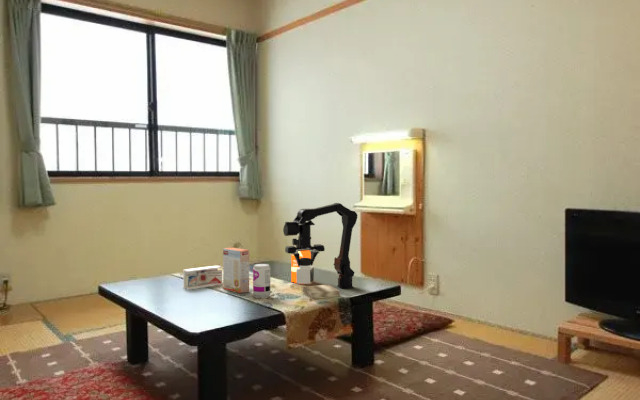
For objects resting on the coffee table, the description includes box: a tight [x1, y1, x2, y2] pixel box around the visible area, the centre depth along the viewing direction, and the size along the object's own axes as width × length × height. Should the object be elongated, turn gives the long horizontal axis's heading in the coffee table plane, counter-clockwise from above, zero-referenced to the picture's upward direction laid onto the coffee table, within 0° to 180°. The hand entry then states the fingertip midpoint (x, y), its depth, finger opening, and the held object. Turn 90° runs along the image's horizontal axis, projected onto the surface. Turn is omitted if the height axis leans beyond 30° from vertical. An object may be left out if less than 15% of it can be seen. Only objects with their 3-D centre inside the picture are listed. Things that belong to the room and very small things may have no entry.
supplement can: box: [252, 263, 271, 299], centre depth 234 cm, size 8×8×15 cm
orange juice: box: [290, 250, 313, 284], centre depth 266 cm, size 8×9×20 cm
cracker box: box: [222, 246, 250, 294], centre depth 245 cm, size 14×6×21 cm, turn 47°
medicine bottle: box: [296, 258, 315, 285], centre depth 243 cm, size 7×7×12 cm
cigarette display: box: [182, 264, 223, 290], centre depth 256 cm, size 20×6×9 cm, turn 129°
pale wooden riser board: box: [301, 284, 341, 299], centre depth 239 cm, size 14×14×2 cm
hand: (305, 266), depth 243 cm, fingers closed on medicine bottle, 6 cm apart
